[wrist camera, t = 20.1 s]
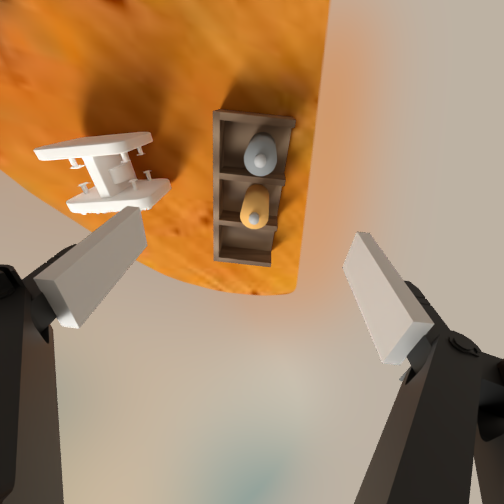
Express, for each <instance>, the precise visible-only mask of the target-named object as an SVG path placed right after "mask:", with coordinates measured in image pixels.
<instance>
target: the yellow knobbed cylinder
mask: <svg viewBox="0 0 504 504" xmlns="http://www.w3.org/2000/svg"><path fill="white" fill-rule="evenodd" d="M268 218H269V192H268V190H267V188H266V187H264V186H263V185H260V184H254V185H251V186H250V187H249V188H248V189H247V191H246V193H245V197H244V201H243V205H242V209H241V213H240V219H241V221H242V223H243V224H244V225H245V226H246V227H248V228H250V229H259V228H262V227H263V226H265V225H266V223H267V222H268Z"/></svg>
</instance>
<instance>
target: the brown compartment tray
mask: <svg viewBox="0 0 504 504" xmlns="http://www.w3.org/2000/svg"><path fill="white" fill-rule="evenodd" d="M295 123H296V120H295V119H294V118H293V117H288V116H279V115H270V114H261V113H252V112H243V111H234V110H225V109H218V110H215V111H213V215H214V261H221V262H230V263H238V264H247V265H256V266H265V267H271V249H272V243H273V237H274V231H277V213H278V207H279V201H280V195H281V189H282V186H285V175H284V171H285V165H286V159H287V153H288V147H289V141H290V135H291V129H292V128H295ZM259 132H266V133H269V134H270V135H271V136H272V137H273V138H274V140H275V143H276V152H277V163H276V166H275V168H274V170H273V171H272V172H271V173H269V174H268V175H265V176H256V175H253V174H252V173H250V172H249V171H248V170H247V168H246V166H245V163H244V155H245V152H246V149H247V147H248V145H249V142H250V140H251V138H252V137H253V136H254V135H255V134H257V133H259ZM254 184H260V185H263V186H264V187H266V188H267V190H268V192H269V218H268V222H267V223H266V225H265V226H263V227H262V228H259V229H250V228H248V227H246V226H245V225H244V224H243V223H242V221H241V219H240V213H241V209H242V205H243V201H244V197H245V193H246V191H247V189H248V188H249V187H250V186H251V185H254Z"/></svg>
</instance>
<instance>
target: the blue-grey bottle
mask: <svg viewBox="0 0 504 504" xmlns="http://www.w3.org/2000/svg"><path fill="white" fill-rule="evenodd" d="M244 163H245V166H246V168H247V170H248V171H249V172H250V173H252V174H253V175H256V176H265V175H268V174H269V173H271V172H272V171H273V170H274V168H275V166H276V163H277V152H276V143H275V140H274V138H273V137H272V136H271V135H270V134H269V133H266V132H259V133H257V134H255V135H254V136H253V137H252V138H251V140H250V142H249V145H248V147H247V149H246V152H245V155H244Z"/></svg>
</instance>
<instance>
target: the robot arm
mask: <svg viewBox="0 0 504 504" xmlns="http://www.w3.org/2000/svg"><path fill="white" fill-rule="evenodd" d="M146 247H147V241H146V236H145V231H144V226H143V221H142V216H141V211H140V207H133V206H126V207H125V208H124V209H122V210H121V211H120V212H118V213H117V214H116V215H114V216H113V217H112V218H111V219H109V220H108V221H107V222H105V223H104V224H103V225H102V226H100V227H99V228H98V229H96V230H95V231H94V232H92V233H91V234H90V235H89V236H87V237H86V238H85V239H84V240H82V241H81V242H80V243H78V244H74V245H72V246H69V247H67V248H65V249H63V250H62V251H60V252H59V253H57V254H56V255H55V256H54V257H52V258H51V259H49V260H48V261H47V263H44V264H43V265H41V266H40V267H39V268H37V269H36V270H35V271H33V272H32V273H31V274H29V275H28V276H27V277H25V278H24V279H21V278H20V276H19V275H18V273H17V272H16V270H15V269H14V267H13V266H10V265H0V504H64V500H63V484H62V468H61V453H60V436H59V420H58V406H57V405H58V403H57V388H56V372H55V356H54V340H53V329H52V327H51V325H50V324H51V322H52V321H53V320H54V319H55V318H56V317H57V319H58V321H59V322H60V324H61V326H63V327H73V328H80V327H81V326H82V325H83V323H84V322H85V321H86V320H87V318H88V317H89V316H90V315H91V314H92V312H93V311H94V310H95V309H96V307H97V306H98V305H99V304H100V303H101V301H102V300H103V299H104V298H105V297H106V295H107V294H108V293H109V292H110V290H111V289H112V288H113V287H114V286H115V284H116V283H117V282H118V281H119V279H120V278H121V277H122V276H123V275H124V273H125V272H126V271H127V270H128V268H129V267H130V266H131V265H132V264H133V262H134V261H135V260H136V259H137V257H138V256H139V255H140V254H141V253H142V251H143V250H144V249H145V248H146ZM342 268H343V270H344V272H345V275H346V277H347V280H348V282H349V284H350V287H351V289H352V292H353V294H354V297H355V299H356V301H357V304H358V306H359V309H360V311H361V313H362V315H363V318H364V321H365V323H366V325H367V328H368V330H369V333H370V335H371V337H372V340H373V342H374V345H375V347H376V350H377V352H378V354H379V357H380V359H381V361H382V363H386V364H394V365H400V364H401V363H402V362H403V361H404V360H405V358H406V357H407V358H408V360H409V362H410V364H411V367H410V368H409V369H408V370H407V371H406V372H405V373H404V374H403V376H402V377H401V378H400V379H399V380H400V381H403V382H402V385H401V387H400V390H399V392H398V395H397V398H396V400H395V402H394V405H393V407H392V410H391V412H390V415H389V417H388V420H387V422H386V425H385V428H384V430H383V433H382V435H381V437H380V440H379V442H378V445H377V447H376V450H375V453H374V455H373V458H372V460H371V462H370V465H369V467H368V470H367V472H366V475H365V477H364V480H363V482H362V485H361V487H360V490H359V492H358V495H357V497H356V500H355V502H354V504H469V496H470V486H471V476H472V466H473V456H474V460H475V465H476V471H477V476H478V481H479V487H480V492H481V498H482V503H483V504H504V359H500V358H498V357H495V356H492V355H489V354H486V353H483V352H481V350H480V349H479V347H478V346H477V345H476V344H474V342H473V341H471V340H470V339H469V338H467V337H465V336H464V335H462V334H459V333H457V332H455V331H450V329H449V328H448V327H447V325H446V324H445V323H444V321H443V320H442V319H441V317H440V316H439V315H438V313H437V312H436V311H435V310H434V308H433V307H432V306H430V303H429V302H428V300H427V299H425V296H424V295H423V294H422V293H421V291H420V290H419V289H418V288H417V287H416V286H414V285H413V284H412V283H411V282H409V281H403V279H402V278H401V276H400V275H399V274H398V272H397V271H396V269H395V268H394V267H393V265H392V264H391V262H390V261H389V260H388V258H387V257H386V255H385V254H384V253H383V251H382V250H381V248H380V247H379V246H378V244H377V243H376V241H375V240H374V239H373V237H372V236H371V234H370V233H365V232H356V235H355V238H354V240H353V242H352V245H351V247H350V250H349V253H348V255H347V257H346V260H345V263H344V265H343V267H342Z"/></svg>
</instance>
